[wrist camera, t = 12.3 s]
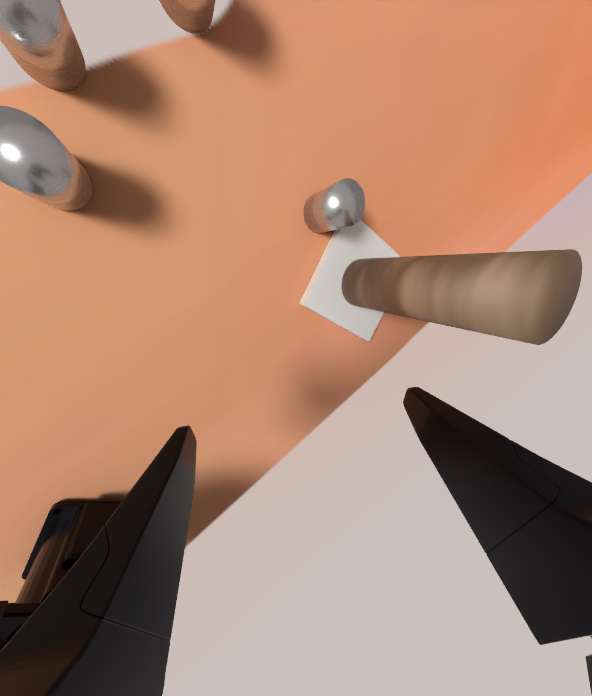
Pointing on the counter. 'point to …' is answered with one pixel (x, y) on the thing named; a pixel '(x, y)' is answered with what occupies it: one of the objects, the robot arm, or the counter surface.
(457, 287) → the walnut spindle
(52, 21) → the spacer posts
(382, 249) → the rubber mat
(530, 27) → the counter surface
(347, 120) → the counter surface
